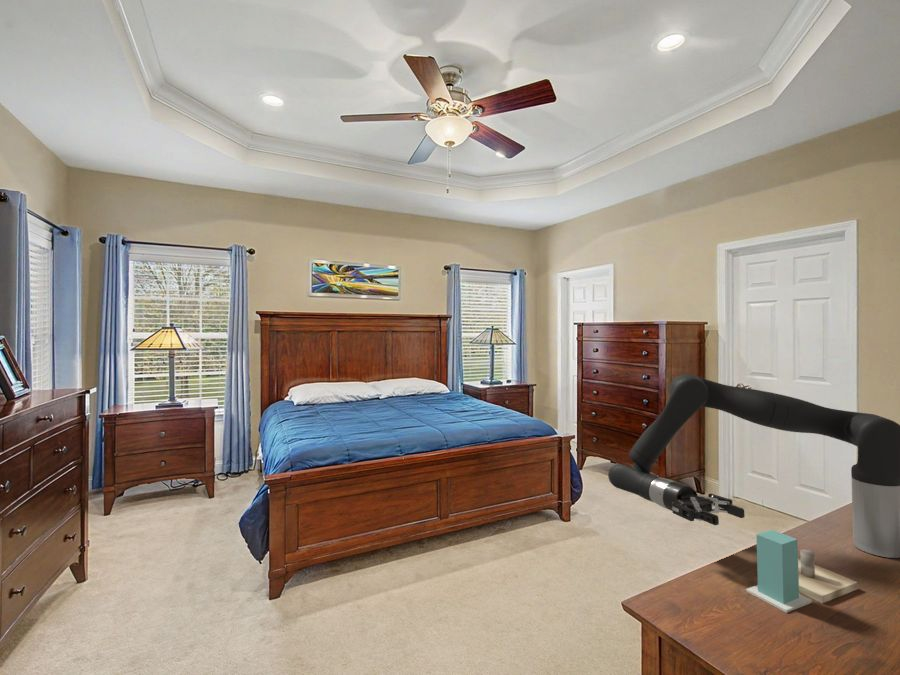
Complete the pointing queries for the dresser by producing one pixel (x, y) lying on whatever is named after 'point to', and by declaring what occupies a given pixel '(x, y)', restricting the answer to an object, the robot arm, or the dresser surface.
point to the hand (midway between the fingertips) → (730, 517)
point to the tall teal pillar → (777, 566)
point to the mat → (784, 607)
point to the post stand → (821, 580)
